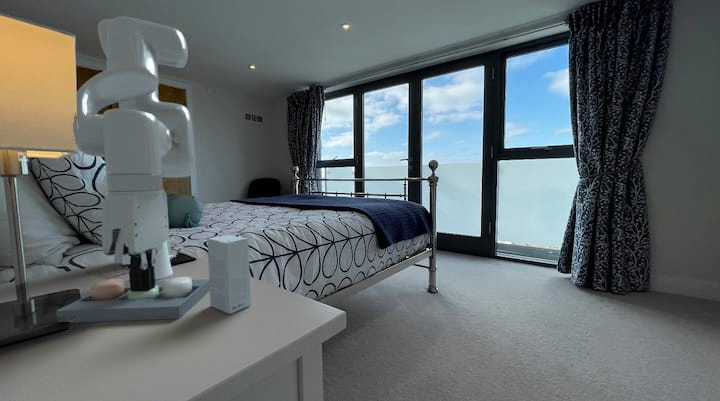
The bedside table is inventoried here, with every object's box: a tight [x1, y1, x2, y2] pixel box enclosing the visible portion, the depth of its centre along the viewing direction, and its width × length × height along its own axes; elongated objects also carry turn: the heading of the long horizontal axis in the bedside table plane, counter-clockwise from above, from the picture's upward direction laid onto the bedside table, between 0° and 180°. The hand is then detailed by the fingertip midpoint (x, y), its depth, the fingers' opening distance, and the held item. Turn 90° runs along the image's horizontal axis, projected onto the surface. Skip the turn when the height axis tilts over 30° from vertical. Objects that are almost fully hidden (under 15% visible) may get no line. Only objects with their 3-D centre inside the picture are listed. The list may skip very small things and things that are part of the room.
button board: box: [55, 279, 210, 324], centre depth 52 cm, size 12×18×2 cm, turn 95°
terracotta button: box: [89, 278, 125, 301], centre depth 51 cm, size 4×4×2 cm
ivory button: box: [162, 276, 193, 299], centre depth 52 cm, size 4×4×2 cm
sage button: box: [127, 285, 159, 300], centre depth 52 cm, size 4×4×2 cm
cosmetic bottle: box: [152, 240, 174, 281], centre depth 65 cm, size 6×6×22 cm
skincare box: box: [207, 234, 252, 315], centre depth 51 cm, size 6×4×12 cm
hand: (143, 289), depth 51 cm, fingers closed
